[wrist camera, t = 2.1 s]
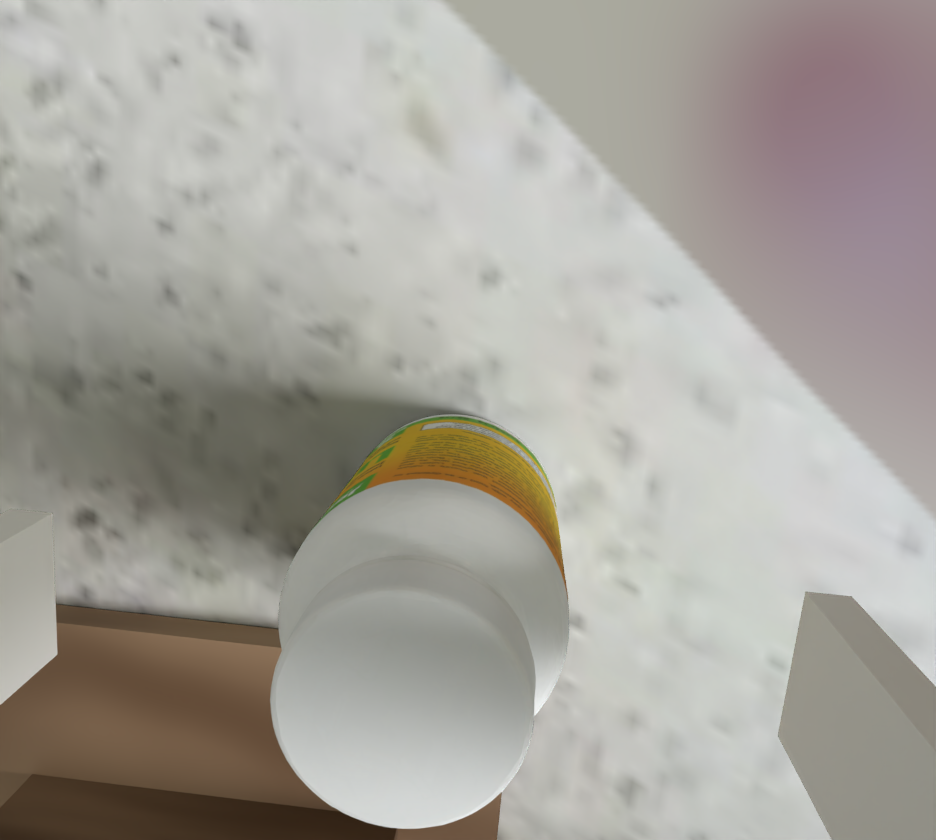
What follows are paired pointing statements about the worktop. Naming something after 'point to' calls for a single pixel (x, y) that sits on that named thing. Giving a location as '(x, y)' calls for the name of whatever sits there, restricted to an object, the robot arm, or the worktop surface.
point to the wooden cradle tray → (165, 741)
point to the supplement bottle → (423, 626)
